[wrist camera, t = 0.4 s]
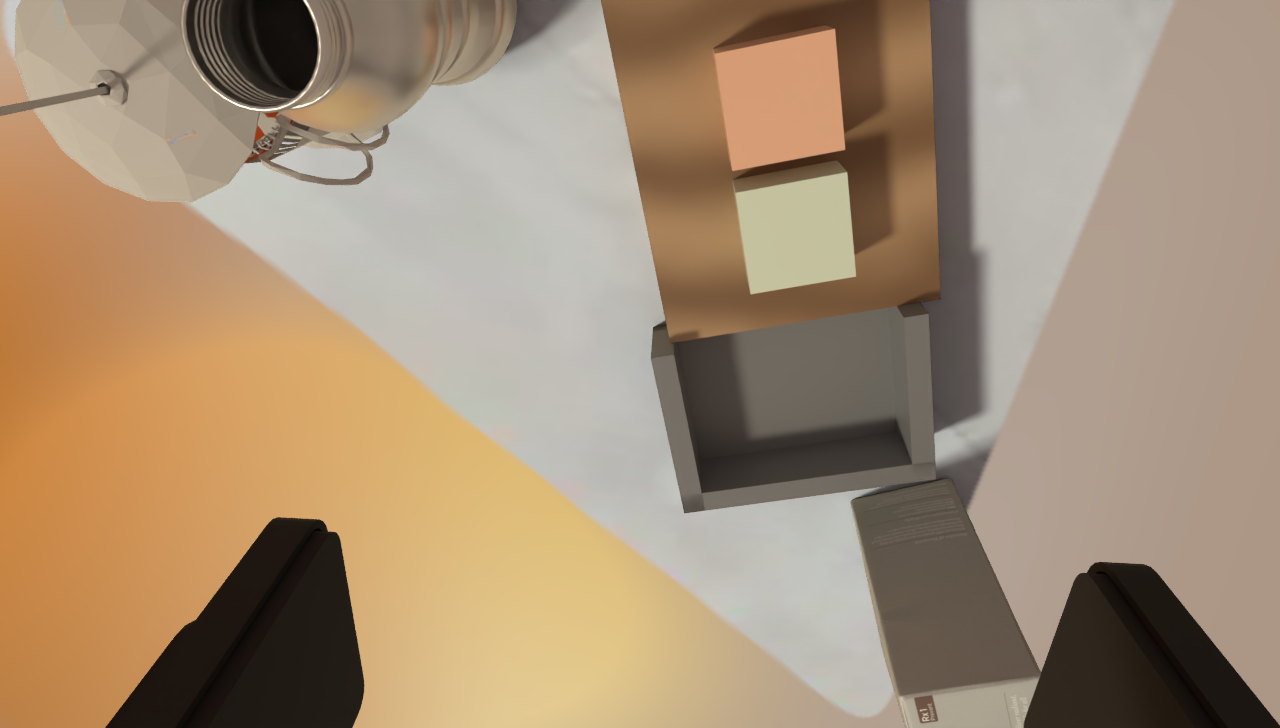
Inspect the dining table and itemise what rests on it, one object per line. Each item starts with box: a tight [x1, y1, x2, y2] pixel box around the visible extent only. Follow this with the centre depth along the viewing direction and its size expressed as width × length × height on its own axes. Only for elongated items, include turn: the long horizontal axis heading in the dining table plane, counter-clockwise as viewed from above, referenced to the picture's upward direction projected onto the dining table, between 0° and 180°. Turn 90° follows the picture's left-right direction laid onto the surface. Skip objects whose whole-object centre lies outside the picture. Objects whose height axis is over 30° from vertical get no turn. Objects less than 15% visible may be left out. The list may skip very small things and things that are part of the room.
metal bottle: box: [180, 0, 517, 134], centre depth 28 cm, size 6×7×20 cm
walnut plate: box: [601, 0, 941, 343], centre depth 38 cm, size 18×14×2 cm
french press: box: [0, 0, 389, 202], centre depth 28 cm, size 10×12×25 cm
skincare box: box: [851, 479, 1041, 728], centre depth 43 cm, size 8×7×16 cm
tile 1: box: [732, 160, 856, 294], centre depth 38 cm, size 5×5×2 cm
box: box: [651, 303, 936, 513], centre depth 44 cm, size 10×14×4 cm
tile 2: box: [713, 25, 845, 171], centre depth 35 cm, size 5×5×2 cm
